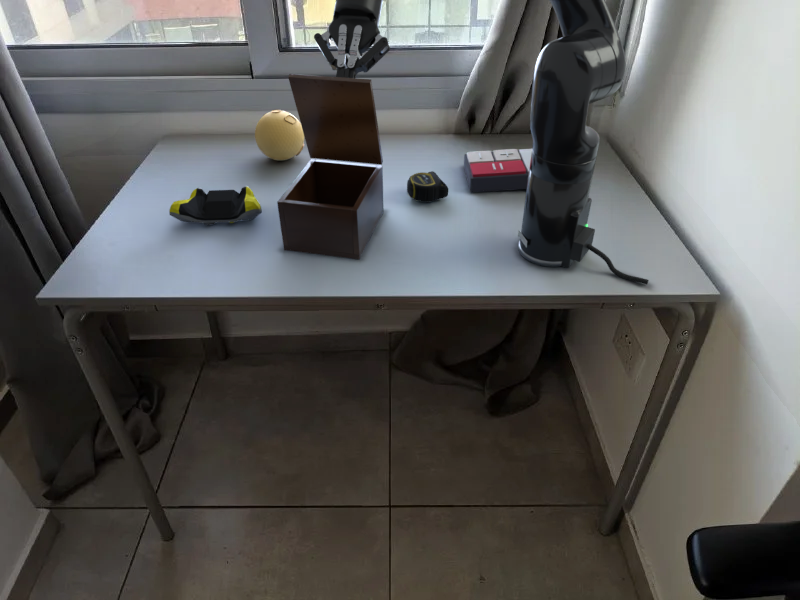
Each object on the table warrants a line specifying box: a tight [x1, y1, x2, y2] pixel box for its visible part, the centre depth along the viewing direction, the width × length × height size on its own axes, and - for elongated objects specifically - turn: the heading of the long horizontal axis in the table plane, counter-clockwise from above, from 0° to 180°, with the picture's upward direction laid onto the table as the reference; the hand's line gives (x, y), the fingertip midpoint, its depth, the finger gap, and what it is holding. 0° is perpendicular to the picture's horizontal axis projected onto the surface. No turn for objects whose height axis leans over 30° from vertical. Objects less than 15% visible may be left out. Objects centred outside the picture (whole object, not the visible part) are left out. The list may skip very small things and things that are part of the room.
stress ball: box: [254, 109, 305, 161], centre depth 126 cm, size 10×10×10 cm
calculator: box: [463, 148, 532, 193], centre depth 120 cm, size 11×4×15 cm
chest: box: [276, 158, 385, 260], centre depth 103 cm, size 16×13×9 cm
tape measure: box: [406, 170, 449, 203], centre depth 114 cm, size 7×7×4 cm
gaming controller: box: [169, 185, 263, 226], centre depth 107 cm, size 15×6×10 cm
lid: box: [287, 73, 384, 166], centre depth 99 cm, size 17×13×1 cm
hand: (343, 93), depth 100 cm, fingers closed
